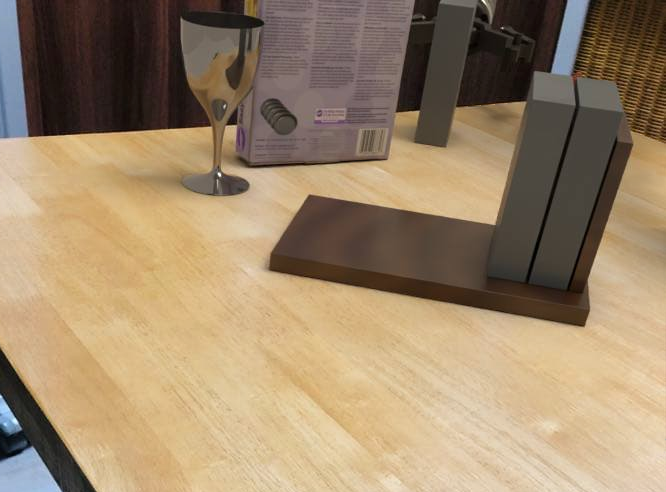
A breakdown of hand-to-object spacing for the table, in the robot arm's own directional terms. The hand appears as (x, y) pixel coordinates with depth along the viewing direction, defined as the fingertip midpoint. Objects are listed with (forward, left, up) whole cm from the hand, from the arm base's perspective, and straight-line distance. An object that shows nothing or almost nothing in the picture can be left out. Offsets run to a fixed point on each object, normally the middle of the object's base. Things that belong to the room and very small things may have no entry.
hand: (451, 52), depth 110 cm
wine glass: (+20, +37, -9) cm, 43 cm away
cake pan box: (+12, +23, -9) cm, 27 cm away
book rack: (-4, +48, -8) cm, 49 cm away
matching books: (-12, +48, -7) cm, 50 cm away
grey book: (0, +7, -8) cm, 11 cm away
